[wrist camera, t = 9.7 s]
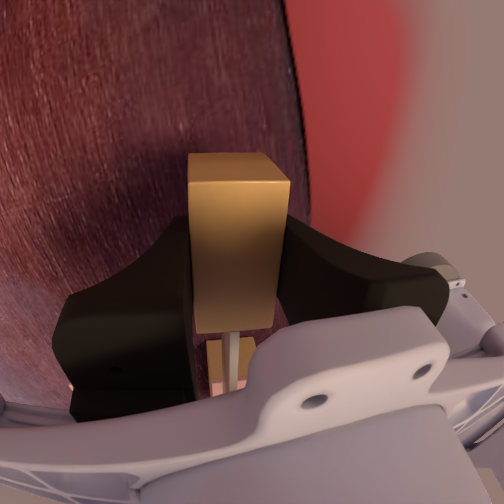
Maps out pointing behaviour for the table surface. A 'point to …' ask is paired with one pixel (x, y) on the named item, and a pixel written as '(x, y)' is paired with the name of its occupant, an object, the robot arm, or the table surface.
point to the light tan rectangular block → (215, 363)
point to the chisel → (235, 246)
